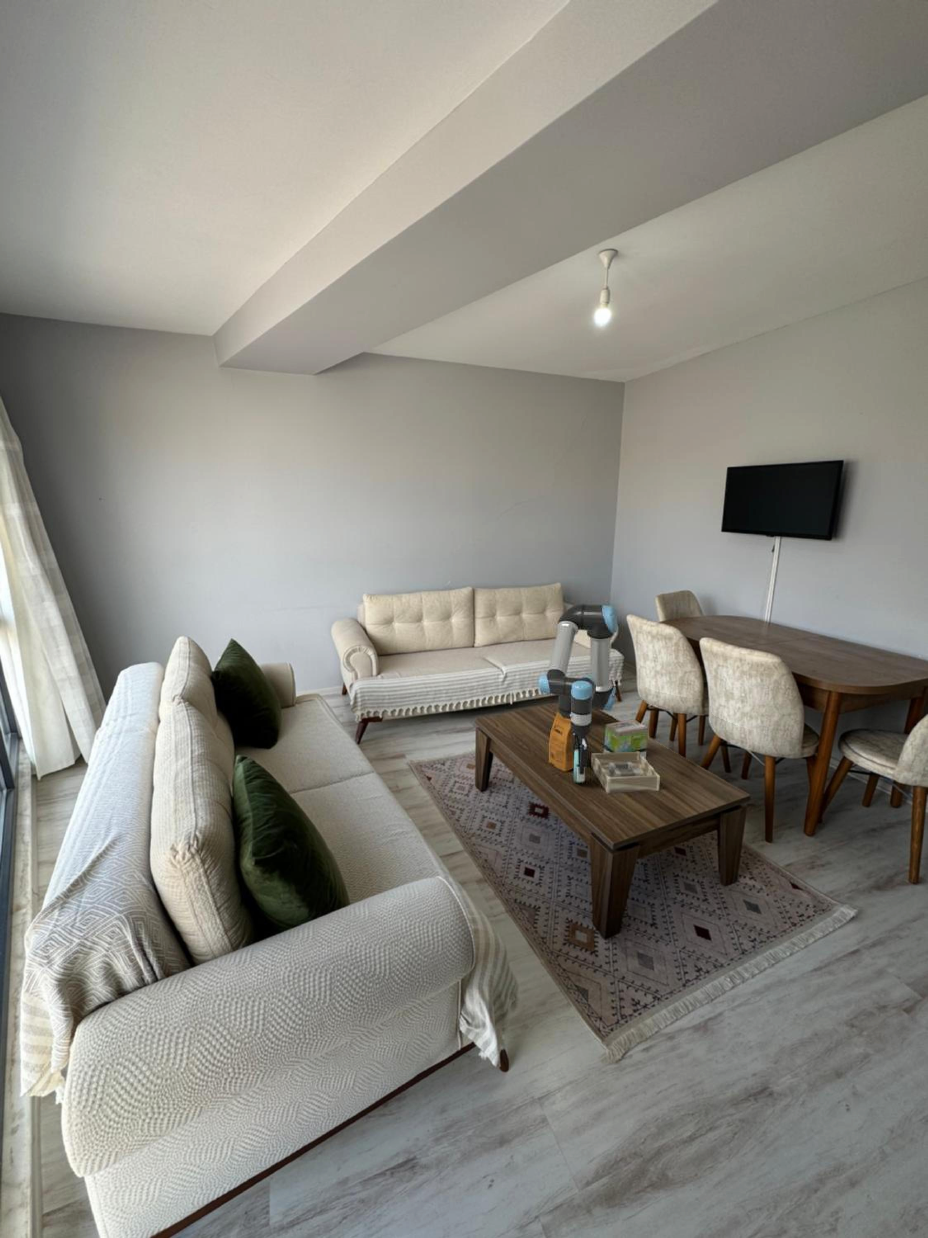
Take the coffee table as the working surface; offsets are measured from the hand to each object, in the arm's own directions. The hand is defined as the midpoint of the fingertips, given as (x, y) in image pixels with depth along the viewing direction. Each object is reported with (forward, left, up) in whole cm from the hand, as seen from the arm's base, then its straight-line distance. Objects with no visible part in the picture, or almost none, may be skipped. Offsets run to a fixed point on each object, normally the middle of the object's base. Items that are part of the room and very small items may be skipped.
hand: (578, 777), depth 197 cm
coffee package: (-16, -2, -3) cm, 16 cm away
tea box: (-20, +26, -3) cm, 33 cm away
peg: (0, 0, -1) cm, 1 cm away
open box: (-3, +19, -3) cm, 19 cm away
